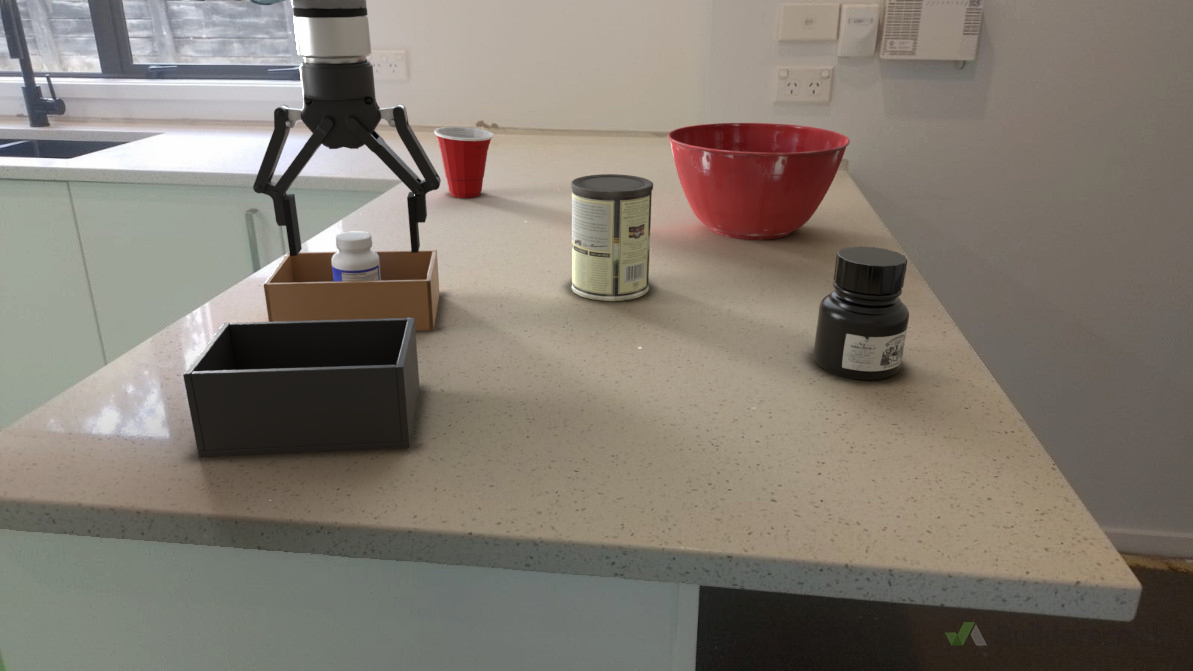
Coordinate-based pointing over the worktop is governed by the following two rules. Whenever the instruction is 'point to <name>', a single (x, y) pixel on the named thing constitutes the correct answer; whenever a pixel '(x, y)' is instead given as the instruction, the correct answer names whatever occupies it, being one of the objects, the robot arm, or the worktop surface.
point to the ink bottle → (863, 315)
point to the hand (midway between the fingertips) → (356, 251)
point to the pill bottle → (355, 258)
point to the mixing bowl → (755, 175)
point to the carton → (355, 289)
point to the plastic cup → (464, 158)
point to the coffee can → (611, 236)
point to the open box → (305, 387)
